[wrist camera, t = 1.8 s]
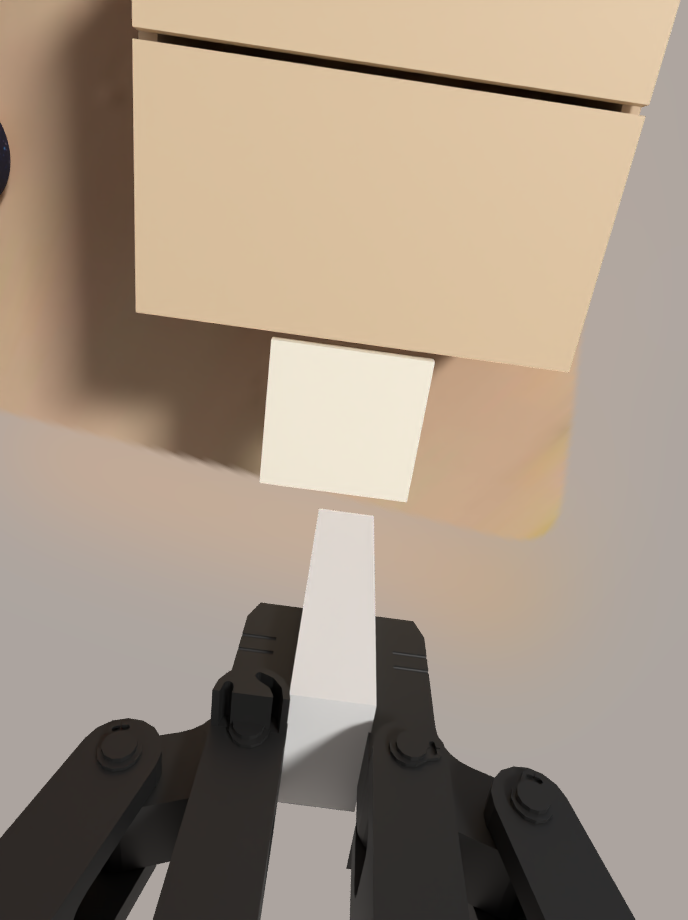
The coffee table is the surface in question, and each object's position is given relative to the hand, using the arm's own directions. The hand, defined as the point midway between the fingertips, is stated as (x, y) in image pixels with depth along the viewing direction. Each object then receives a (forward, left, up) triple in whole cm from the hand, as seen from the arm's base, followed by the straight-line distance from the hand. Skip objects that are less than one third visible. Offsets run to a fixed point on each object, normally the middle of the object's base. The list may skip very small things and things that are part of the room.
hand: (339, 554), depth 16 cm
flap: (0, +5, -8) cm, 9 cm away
